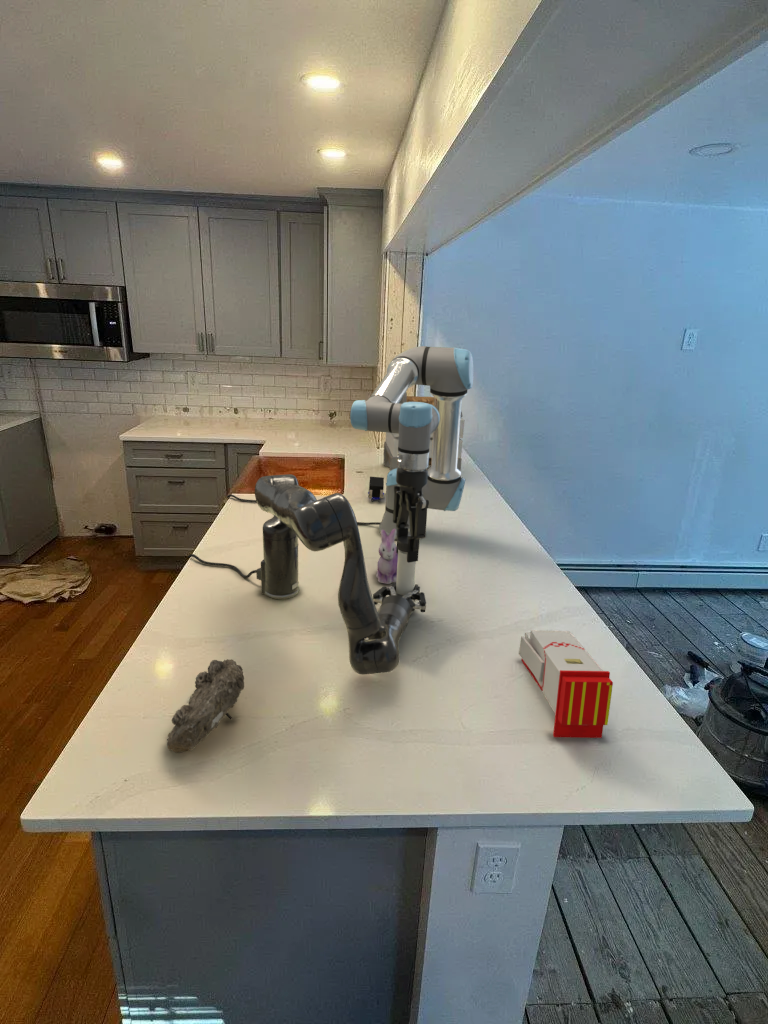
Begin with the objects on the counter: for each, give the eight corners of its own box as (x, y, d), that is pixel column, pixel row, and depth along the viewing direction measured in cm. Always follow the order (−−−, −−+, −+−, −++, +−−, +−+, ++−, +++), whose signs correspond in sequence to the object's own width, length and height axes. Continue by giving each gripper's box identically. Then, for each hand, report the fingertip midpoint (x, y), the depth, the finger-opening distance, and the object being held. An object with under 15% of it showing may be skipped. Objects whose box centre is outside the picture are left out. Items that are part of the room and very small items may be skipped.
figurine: (383, 587, 161) (385, 538, 155) (367, 573, 169) (369, 526, 164) (412, 582, 165) (415, 534, 160) (395, 567, 173) (397, 522, 168)
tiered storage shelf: (382, 463, 289) (386, 382, 275) (445, 464, 293) (451, 384, 279) (390, 482, 257) (394, 392, 243) (460, 483, 261) (468, 394, 247)
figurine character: (384, 507, 230) (383, 491, 243) (385, 490, 226) (384, 475, 240) (367, 506, 230) (368, 491, 243) (368, 489, 226) (368, 474, 240)
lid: (392, 548, 143) (393, 539, 142) (405, 542, 146) (406, 534, 146) (409, 554, 139) (409, 545, 139) (422, 548, 143) (422, 539, 142)
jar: (406, 617, 146) (411, 547, 139) (391, 612, 148) (395, 543, 142) (415, 610, 150) (420, 541, 143) (400, 605, 152) (404, 537, 145)
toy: (565, 614, 131) (622, 678, 102) (559, 667, 134) (613, 744, 105) (513, 613, 131) (555, 677, 102) (509, 666, 134) (548, 744, 104)
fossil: (192, 660, 117) (244, 628, 112) (224, 691, 120) (276, 661, 115) (142, 746, 98) (202, 712, 93) (182, 779, 101) (242, 748, 96)
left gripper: (423, 608, 131) (434, 577, 147) (363, 598, 134) (381, 569, 150) (421, 636, 134) (432, 602, 149) (362, 626, 137) (380, 594, 152)
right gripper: (381, 460, 142) (378, 545, 150) (417, 479, 127) (411, 573, 134) (408, 457, 145) (403, 541, 153) (445, 476, 130) (438, 568, 138)
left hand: (406, 586), depth 149 cm, fingers closed on jar, 4 cm apart
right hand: (406, 556), depth 144 cm, fingers closed on lid, 5 cm apart
